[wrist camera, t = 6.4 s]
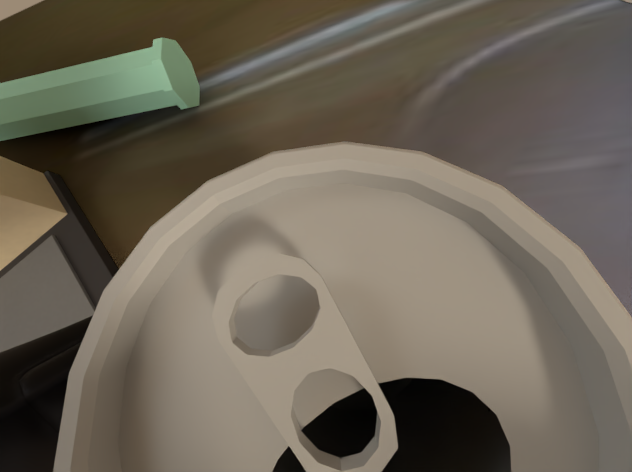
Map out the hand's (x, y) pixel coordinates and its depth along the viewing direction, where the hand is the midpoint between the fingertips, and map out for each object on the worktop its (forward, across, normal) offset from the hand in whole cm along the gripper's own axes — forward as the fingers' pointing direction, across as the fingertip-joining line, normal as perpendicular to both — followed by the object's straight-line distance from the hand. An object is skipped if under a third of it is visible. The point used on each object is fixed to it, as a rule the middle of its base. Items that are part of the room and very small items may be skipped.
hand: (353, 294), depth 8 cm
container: (+19, +31, 0) cm, 36 cm away
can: (+4, 0, +6) cm, 7 cm away
